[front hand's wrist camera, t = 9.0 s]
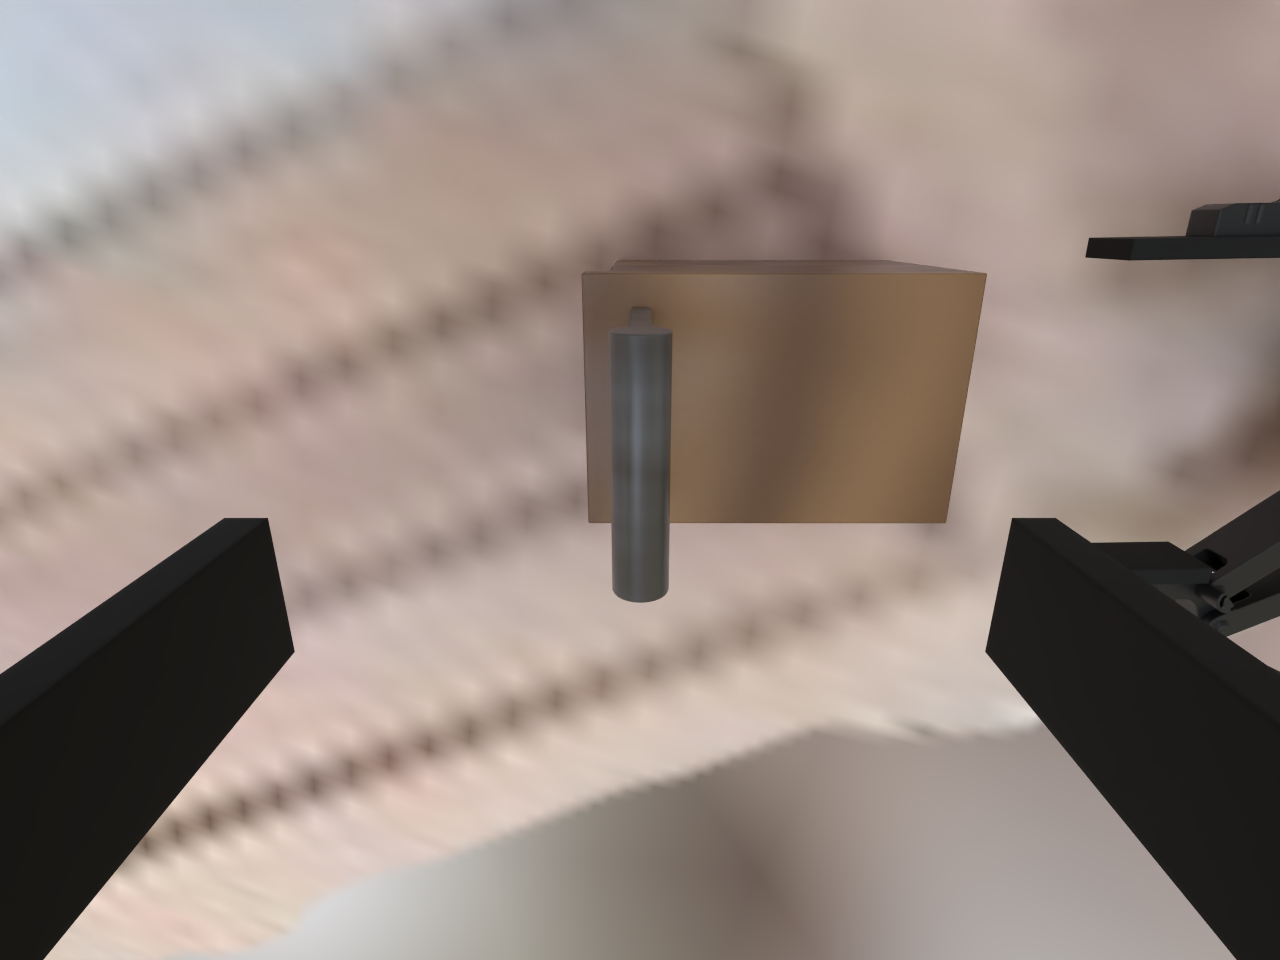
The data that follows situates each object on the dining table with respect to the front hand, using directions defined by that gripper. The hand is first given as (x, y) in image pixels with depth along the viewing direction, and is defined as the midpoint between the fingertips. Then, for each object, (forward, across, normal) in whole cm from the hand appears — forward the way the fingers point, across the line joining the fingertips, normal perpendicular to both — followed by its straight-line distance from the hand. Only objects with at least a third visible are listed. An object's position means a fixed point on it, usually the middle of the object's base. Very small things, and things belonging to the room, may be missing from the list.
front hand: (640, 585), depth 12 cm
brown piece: (+15, +5, 0) cm, 16 cm away
